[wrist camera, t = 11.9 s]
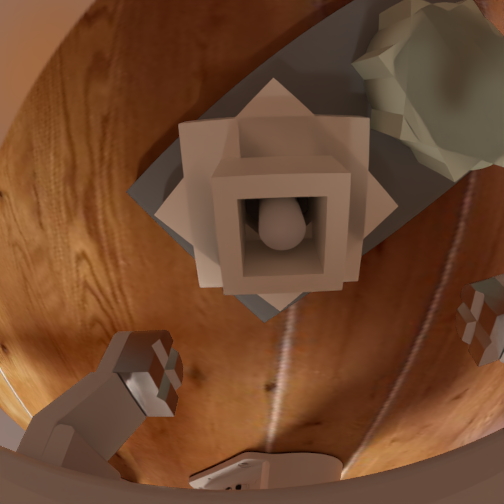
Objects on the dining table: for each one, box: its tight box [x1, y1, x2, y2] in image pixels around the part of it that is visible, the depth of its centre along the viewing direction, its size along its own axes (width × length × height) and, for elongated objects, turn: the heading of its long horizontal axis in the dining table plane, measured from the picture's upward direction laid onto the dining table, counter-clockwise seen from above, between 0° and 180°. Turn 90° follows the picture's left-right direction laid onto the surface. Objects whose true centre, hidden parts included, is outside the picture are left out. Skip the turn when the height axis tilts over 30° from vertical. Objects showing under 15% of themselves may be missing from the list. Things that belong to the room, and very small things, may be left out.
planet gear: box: [154, 78, 398, 311], centre depth 15 cm, size 13×13×5 cm
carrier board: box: [127, 0, 504, 323], centre depth 14 cm, size 24×12×6 cm, turn 131°
